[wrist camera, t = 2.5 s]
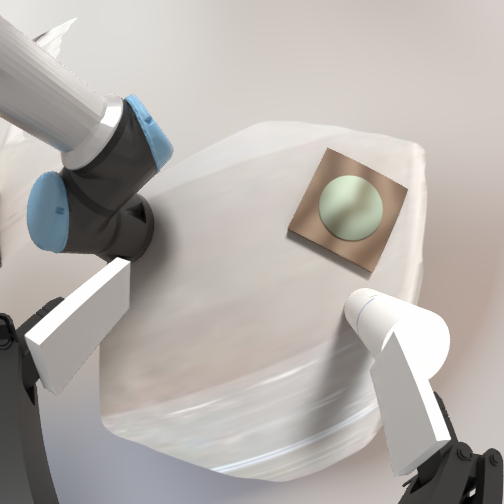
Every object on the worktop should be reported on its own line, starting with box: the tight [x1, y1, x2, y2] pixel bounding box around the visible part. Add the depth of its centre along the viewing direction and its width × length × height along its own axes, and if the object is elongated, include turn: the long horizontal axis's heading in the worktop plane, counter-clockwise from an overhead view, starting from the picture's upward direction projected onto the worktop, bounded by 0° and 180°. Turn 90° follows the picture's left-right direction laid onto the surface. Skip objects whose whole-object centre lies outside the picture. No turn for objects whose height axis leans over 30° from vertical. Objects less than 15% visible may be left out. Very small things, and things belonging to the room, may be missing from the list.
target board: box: [288, 148, 408, 272], centre depth 46 cm, size 16×16×2 cm
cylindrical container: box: [344, 288, 450, 379], centre depth 33 cm, size 7×7×25 cm
